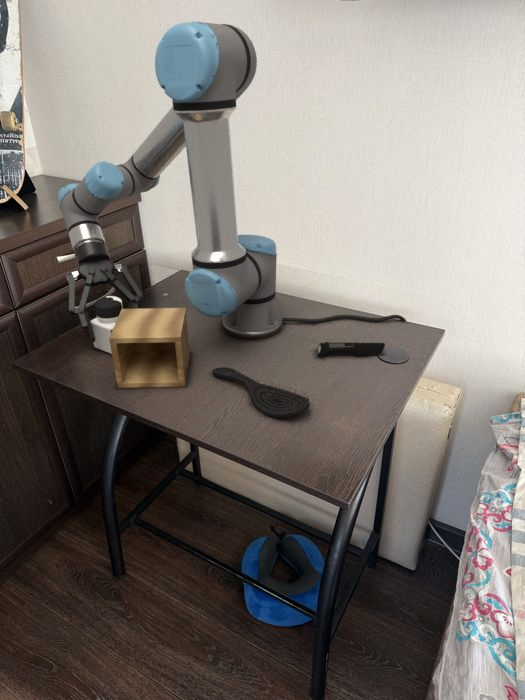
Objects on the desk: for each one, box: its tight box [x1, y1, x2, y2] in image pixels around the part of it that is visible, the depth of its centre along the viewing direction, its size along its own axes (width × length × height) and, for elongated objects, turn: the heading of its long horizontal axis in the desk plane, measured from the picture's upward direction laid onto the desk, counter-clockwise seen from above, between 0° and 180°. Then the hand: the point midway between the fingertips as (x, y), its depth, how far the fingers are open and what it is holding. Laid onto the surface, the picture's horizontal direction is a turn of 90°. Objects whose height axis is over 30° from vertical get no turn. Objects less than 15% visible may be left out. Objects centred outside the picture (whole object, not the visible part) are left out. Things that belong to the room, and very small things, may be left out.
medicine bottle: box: [90, 295, 124, 355], centre depth 116 cm, size 7×7×12 cm
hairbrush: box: [212, 366, 311, 419], centre depth 102 cm, size 8×4×25 cm
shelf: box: [109, 307, 191, 389], centre depth 107 cm, size 14×13×12 cm
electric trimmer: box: [316, 341, 386, 358], centre depth 116 cm, size 4×16×3 cm, turn 91°
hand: (116, 335), depth 115 cm, fingers closed on medicine bottle, 9 cm apart
